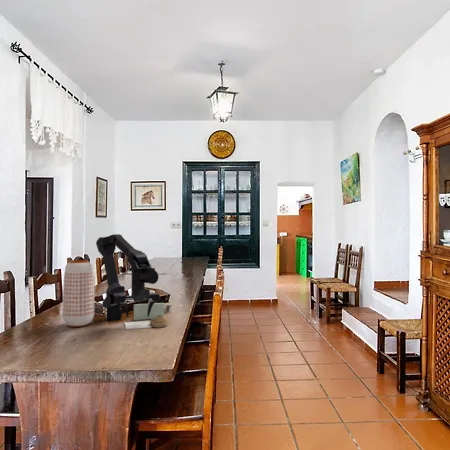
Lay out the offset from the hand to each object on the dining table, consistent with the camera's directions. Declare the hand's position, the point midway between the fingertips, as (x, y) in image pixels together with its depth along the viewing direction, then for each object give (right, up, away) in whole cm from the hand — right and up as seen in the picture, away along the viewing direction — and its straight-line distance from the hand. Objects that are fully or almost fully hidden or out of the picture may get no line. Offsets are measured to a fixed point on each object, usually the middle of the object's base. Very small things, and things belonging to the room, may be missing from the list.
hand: (138, 317), depth 171 cm
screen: (+3, -4, +12) cm, 13 cm away
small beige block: (+8, -4, +27) cm, 28 cm away
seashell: (+11, -4, +4) cm, 12 cm away
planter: (-27, -4, +1) cm, 27 cm away
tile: (0, -4, 0) cm, 4 cm away
